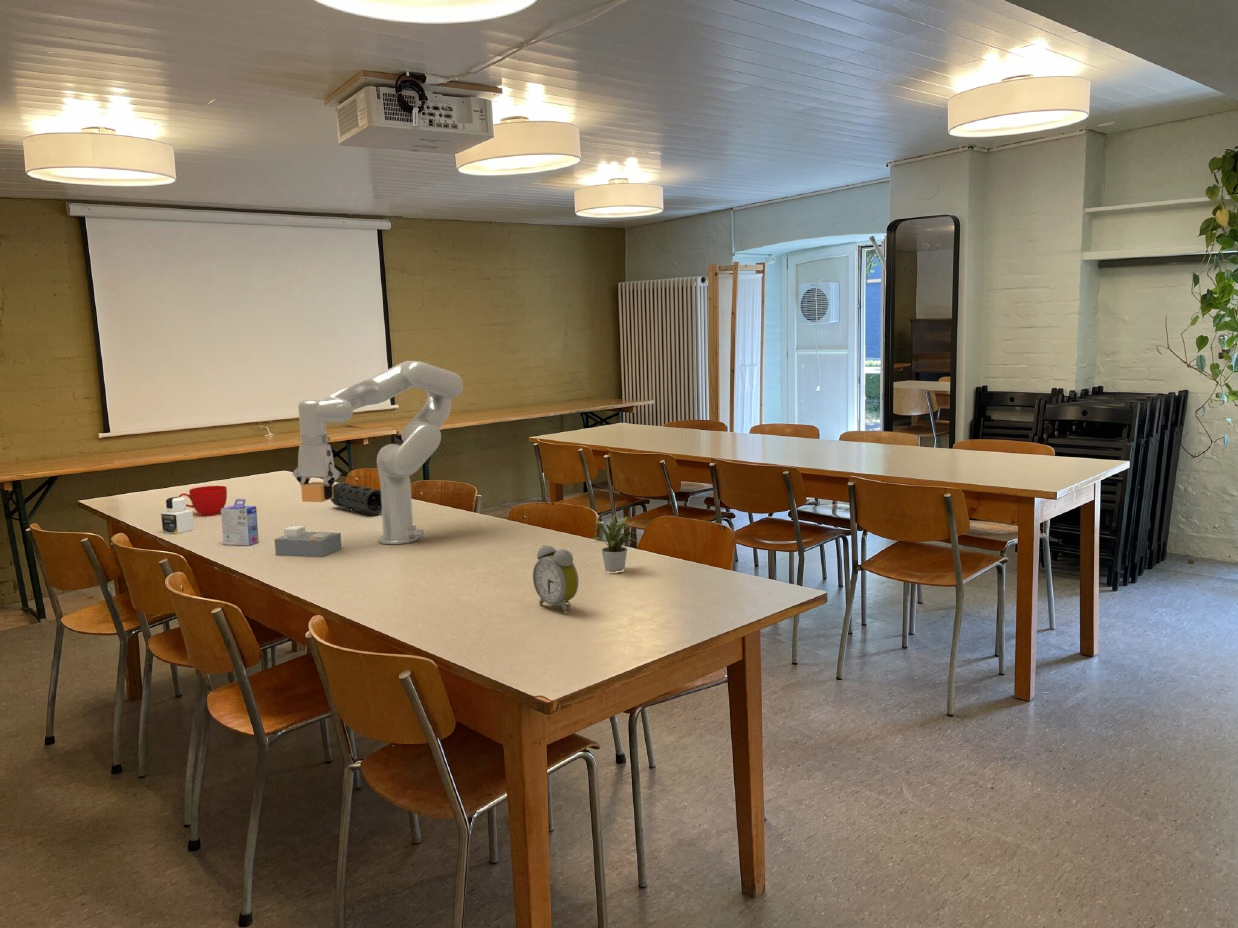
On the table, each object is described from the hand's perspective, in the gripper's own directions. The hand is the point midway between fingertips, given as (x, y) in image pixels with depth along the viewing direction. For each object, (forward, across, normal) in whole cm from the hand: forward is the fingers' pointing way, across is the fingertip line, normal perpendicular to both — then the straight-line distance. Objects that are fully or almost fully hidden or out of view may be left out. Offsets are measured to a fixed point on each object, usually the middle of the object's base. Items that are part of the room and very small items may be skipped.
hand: (317, 497), depth 266 cm
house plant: (+17, -94, +7) cm, 96 cm away
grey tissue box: (+17, +4, 0) cm, 18 cm away
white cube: (+14, +9, 0) cm, 16 cm away
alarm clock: (+17, -90, +40) cm, 100 cm away
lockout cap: (+1, 0, 0) cm, 1 cm away
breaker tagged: (+16, 0, 0) cm, 16 cm away
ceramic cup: (+18, +80, -47) cm, 94 cm away
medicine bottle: (+18, +68, -20) cm, 73 cm away
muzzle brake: (+18, +22, -61) cm, 67 cm away
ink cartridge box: (+18, +33, -7) cm, 38 cm away
